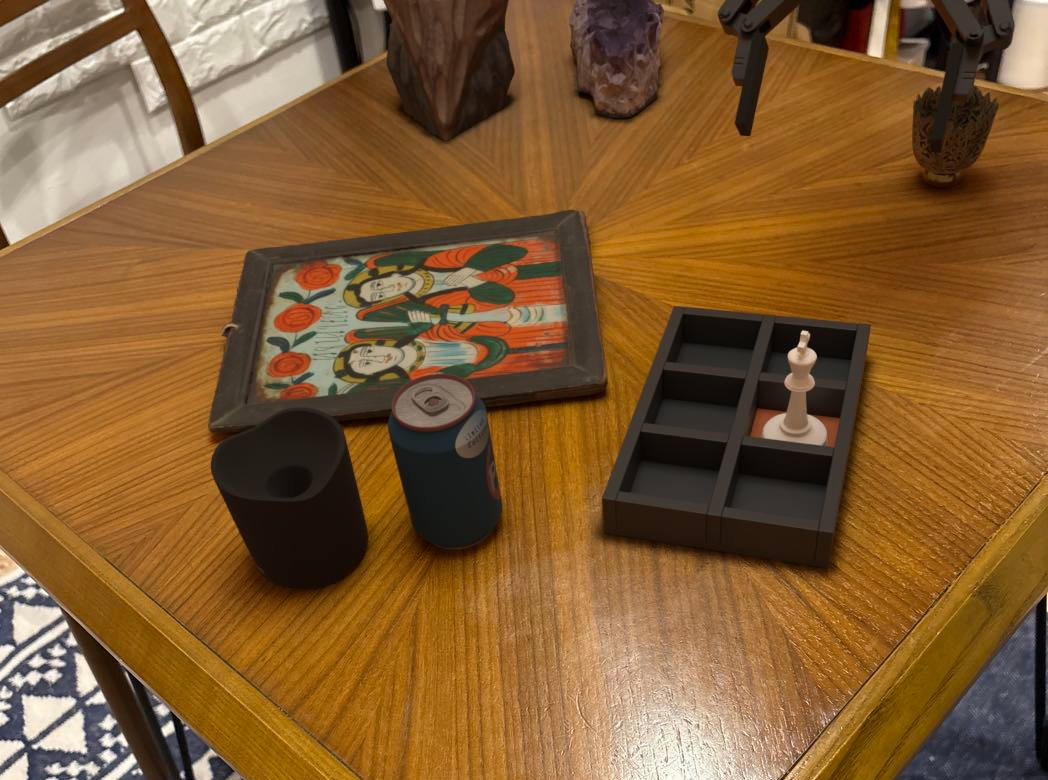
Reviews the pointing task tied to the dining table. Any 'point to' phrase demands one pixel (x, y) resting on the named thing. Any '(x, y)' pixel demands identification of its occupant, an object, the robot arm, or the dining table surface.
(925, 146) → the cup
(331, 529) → the pen holder
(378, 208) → the dining table surface
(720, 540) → the grid
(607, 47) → the geode
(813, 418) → the chess piece
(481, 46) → the owl
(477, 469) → the soda can
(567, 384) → the painting
